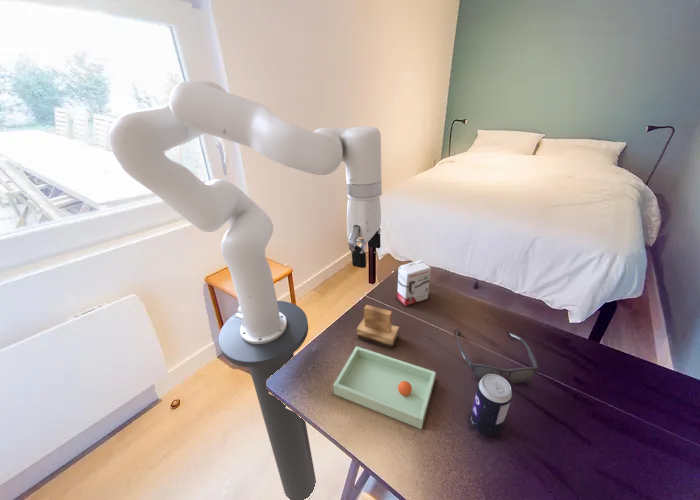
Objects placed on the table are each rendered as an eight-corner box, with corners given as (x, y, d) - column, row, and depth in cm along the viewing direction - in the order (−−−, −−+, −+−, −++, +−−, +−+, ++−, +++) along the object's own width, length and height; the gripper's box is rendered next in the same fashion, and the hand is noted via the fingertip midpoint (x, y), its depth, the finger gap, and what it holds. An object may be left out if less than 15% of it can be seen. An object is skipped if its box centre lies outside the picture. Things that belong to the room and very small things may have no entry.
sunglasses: (464, 384, 70) (467, 366, 68) (450, 336, 86) (452, 321, 84) (542, 388, 68) (547, 371, 66) (514, 339, 84) (517, 323, 82)
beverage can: (490, 409, 65) (501, 369, 59) (506, 436, 60) (520, 395, 54) (464, 414, 64) (473, 374, 58) (479, 442, 59) (490, 401, 53)
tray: (334, 394, 69) (333, 384, 68) (356, 354, 79) (356, 346, 78) (421, 429, 62) (422, 419, 60) (434, 381, 71) (436, 371, 70)
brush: (357, 338, 84) (355, 310, 79) (364, 326, 88) (363, 299, 83) (392, 349, 80) (393, 321, 75) (398, 336, 84) (399, 308, 79)
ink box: (405, 306, 95) (407, 274, 89) (396, 298, 99) (397, 266, 93) (428, 298, 98) (431, 266, 92) (419, 290, 101) (422, 259, 96)
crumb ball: (395, 396, 68) (396, 386, 66) (400, 385, 70) (400, 376, 69) (409, 401, 67) (410, 391, 65) (413, 389, 69) (414, 380, 67)
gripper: (363, 176, 76) (366, 238, 84) (330, 200, 62) (337, 272, 71) (393, 177, 73) (392, 242, 81) (365, 203, 59) (368, 278, 68)
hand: (367, 256), depth 76 cm, fingers open, 9 cm apart
